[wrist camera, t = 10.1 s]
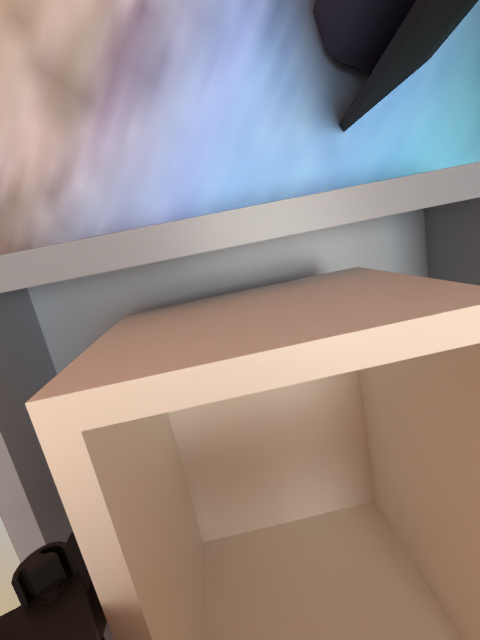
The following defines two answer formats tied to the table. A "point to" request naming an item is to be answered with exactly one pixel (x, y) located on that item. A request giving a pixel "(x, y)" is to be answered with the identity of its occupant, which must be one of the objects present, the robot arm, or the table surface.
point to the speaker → (385, 40)
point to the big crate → (201, 292)
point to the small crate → (279, 462)
